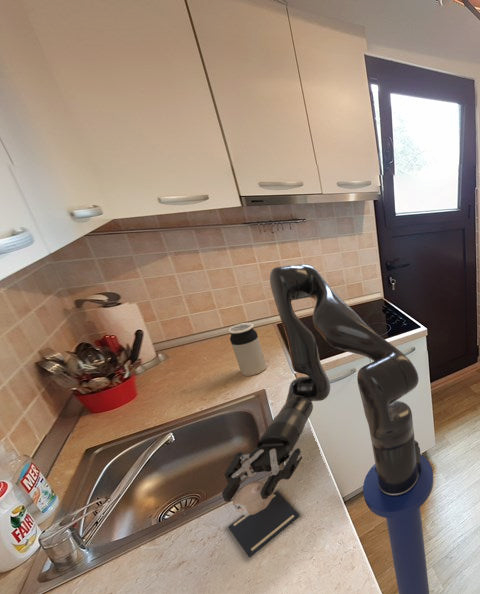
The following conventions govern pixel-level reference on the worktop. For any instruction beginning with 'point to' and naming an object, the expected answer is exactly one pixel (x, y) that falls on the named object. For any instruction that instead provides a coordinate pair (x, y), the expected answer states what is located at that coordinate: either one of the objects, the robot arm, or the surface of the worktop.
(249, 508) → the tan rounded piece
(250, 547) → the slate mat
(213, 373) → the worktop surface
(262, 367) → the travel mug
